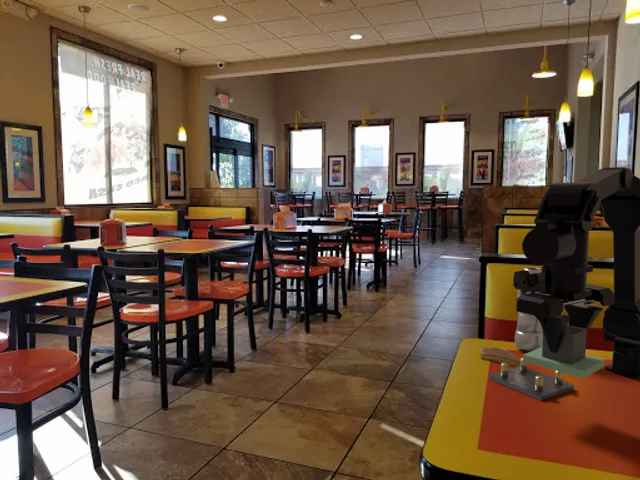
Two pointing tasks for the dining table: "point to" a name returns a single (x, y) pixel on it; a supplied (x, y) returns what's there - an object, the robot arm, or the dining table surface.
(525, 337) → the plastic bottle
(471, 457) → the dining table surface
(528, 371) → the chassis
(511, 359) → the shard
